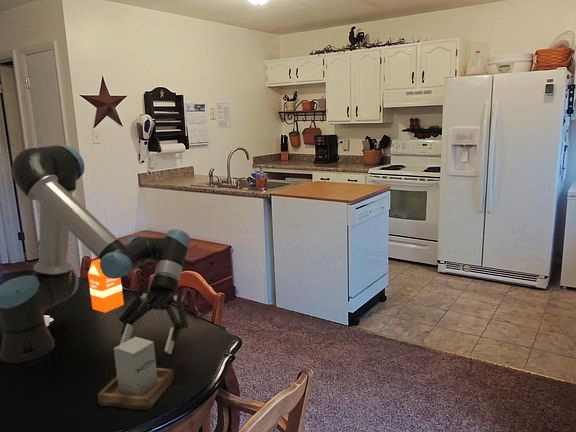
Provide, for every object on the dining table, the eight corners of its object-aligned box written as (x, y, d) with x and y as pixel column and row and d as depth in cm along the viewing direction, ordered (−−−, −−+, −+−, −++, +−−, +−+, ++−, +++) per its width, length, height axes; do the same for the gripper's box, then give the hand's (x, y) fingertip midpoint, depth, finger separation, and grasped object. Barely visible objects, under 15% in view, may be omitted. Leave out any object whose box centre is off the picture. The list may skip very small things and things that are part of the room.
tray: (98, 405, 116) (97, 394, 116) (128, 375, 130) (127, 365, 129) (149, 410, 113) (147, 399, 113) (174, 379, 127) (173, 369, 126)
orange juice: (124, 304, 181) (118, 256, 176) (104, 312, 173) (98, 262, 169) (111, 301, 185) (105, 253, 181) (92, 308, 177) (85, 259, 173)
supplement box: (137, 399, 116) (132, 354, 114) (118, 391, 120) (112, 347, 118) (159, 384, 123) (154, 341, 120) (139, 377, 126) (134, 335, 124)
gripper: (209, 286, 136) (192, 358, 125) (134, 282, 141) (111, 350, 130) (201, 275, 129) (181, 350, 118) (122, 271, 135) (97, 342, 124)
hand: (144, 350), depth 124 cm, fingers open, 13 cm apart
